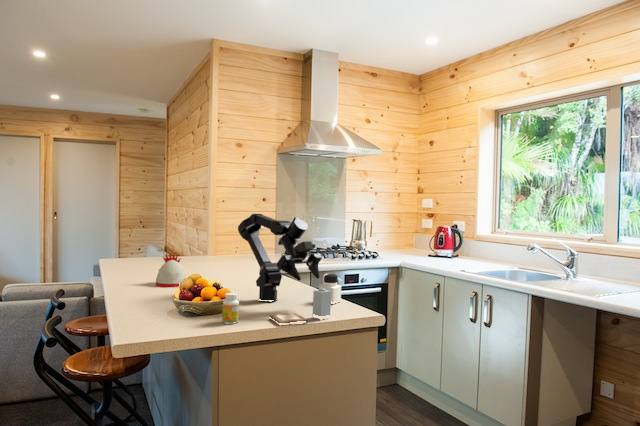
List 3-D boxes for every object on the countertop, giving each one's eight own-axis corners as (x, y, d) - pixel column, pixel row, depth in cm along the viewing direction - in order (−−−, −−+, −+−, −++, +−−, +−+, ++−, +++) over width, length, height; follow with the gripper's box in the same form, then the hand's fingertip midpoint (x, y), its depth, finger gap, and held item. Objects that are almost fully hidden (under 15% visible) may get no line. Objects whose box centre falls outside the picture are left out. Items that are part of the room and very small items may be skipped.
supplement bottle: (219, 321, 157) (220, 293, 157) (232, 319, 161) (233, 291, 161) (227, 325, 154) (229, 296, 153) (241, 322, 157) (242, 294, 157)
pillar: (312, 317, 169) (313, 288, 168) (321, 316, 172) (322, 287, 171) (320, 320, 165) (322, 290, 165) (329, 318, 168) (331, 289, 168)
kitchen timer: (154, 282, 224) (155, 251, 224) (183, 281, 230) (184, 251, 230) (157, 288, 212) (158, 255, 211) (188, 286, 217) (189, 254, 217)
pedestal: (279, 326, 155) (280, 321, 155) (269, 319, 164) (269, 314, 164) (306, 323, 160) (307, 319, 160) (295, 316, 168) (295, 312, 168)
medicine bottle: (340, 302, 197) (342, 274, 197) (332, 305, 191) (333, 276, 191) (326, 300, 201) (327, 272, 200) (317, 302, 194) (319, 274, 194)
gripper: (282, 233, 171) (300, 267, 163) (320, 233, 184) (338, 264, 176) (269, 252, 177) (285, 286, 169) (306, 250, 190) (323, 281, 182)
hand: (309, 279), depth 174 cm, fingers open, 9 cm apart
